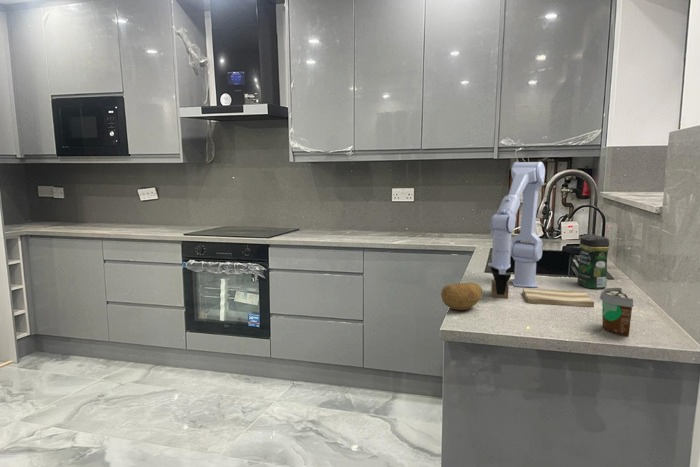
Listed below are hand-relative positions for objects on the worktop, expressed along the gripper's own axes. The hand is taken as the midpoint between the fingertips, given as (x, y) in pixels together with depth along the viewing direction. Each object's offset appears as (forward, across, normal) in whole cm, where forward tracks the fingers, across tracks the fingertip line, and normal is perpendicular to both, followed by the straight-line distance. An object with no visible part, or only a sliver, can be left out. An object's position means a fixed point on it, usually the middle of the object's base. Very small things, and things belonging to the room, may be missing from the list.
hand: (499, 291), depth 157 cm
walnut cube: (+2, 0, 0) cm, 2 cm away
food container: (+2, +28, +26) cm, 38 cm away
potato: (+2, +18, -12) cm, 21 cm away
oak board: (+2, 0, +18) cm, 18 cm away
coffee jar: (+2, -22, +33) cm, 39 cm away
